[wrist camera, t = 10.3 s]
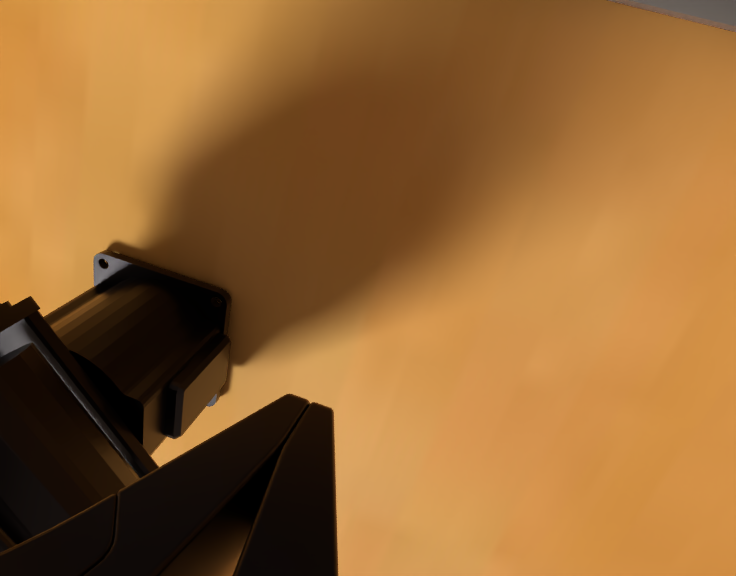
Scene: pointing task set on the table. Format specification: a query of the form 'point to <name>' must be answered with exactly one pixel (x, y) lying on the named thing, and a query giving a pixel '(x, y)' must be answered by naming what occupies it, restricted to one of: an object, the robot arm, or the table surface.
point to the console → (692, 10)
